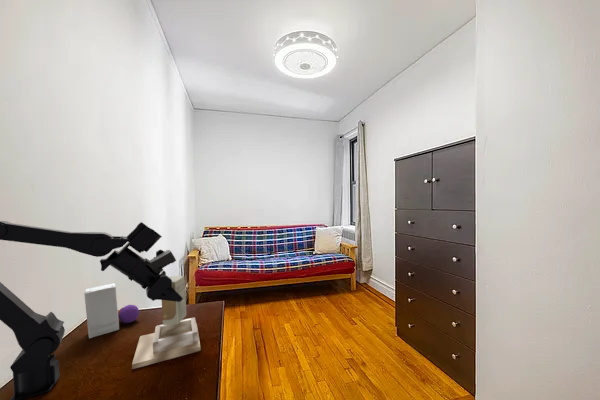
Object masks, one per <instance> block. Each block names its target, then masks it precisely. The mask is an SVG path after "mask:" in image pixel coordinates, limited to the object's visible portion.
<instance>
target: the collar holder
mask: <svg viewBox="0 0 600 400" xmlns="http://www.w3.org/2000/svg"><path fill="white" fill-rule="evenodd" d="M199 335H200V334H199V329H198V324H197V321H196V317H190V318H185V319H182V320H181V321H180V322H179V323H178V324H177V325H163V323H162V324H159V325H158V324H157V325H155V330H154V332H153V333H149V334H147V333H146V334H144V335H140V336H139V339H138V343H137V345H136V350H135V353H134V356H133V359H132V364H131V370H135V369H139V368H143V367H146V366H149V365H153V364H156V363H160V362H164V361H165V362H166V361H168V360H172V359H176V358H179V357H183V356H186V355H191V354H193V353H197V352H200V351H201V349H202V348H201V342H200V336H199Z"/></svg>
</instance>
